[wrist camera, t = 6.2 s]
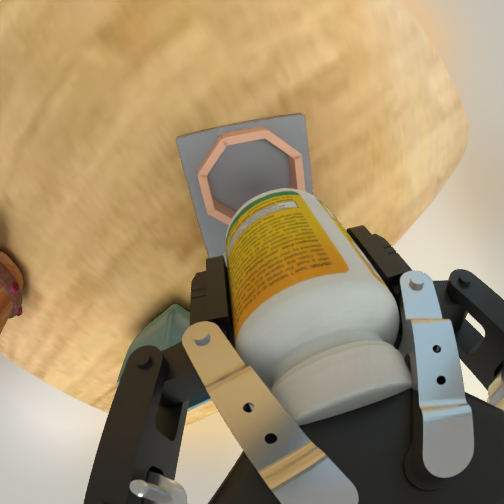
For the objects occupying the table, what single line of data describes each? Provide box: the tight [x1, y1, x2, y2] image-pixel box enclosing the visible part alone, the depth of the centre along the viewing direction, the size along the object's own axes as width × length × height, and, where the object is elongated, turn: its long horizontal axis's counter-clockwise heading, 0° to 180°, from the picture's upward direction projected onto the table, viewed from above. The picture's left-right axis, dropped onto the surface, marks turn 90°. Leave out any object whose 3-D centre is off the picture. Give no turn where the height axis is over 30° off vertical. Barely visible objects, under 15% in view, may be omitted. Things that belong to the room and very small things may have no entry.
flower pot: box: [117, 304, 212, 411], centre depth 28 cm, size 9×9×9 cm
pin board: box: [176, 113, 313, 266], centre depth 25 cm, size 10×17×3 cm, turn 9°
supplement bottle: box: [225, 188, 412, 426], centre depth 10 cm, size 5×5×10 cm
